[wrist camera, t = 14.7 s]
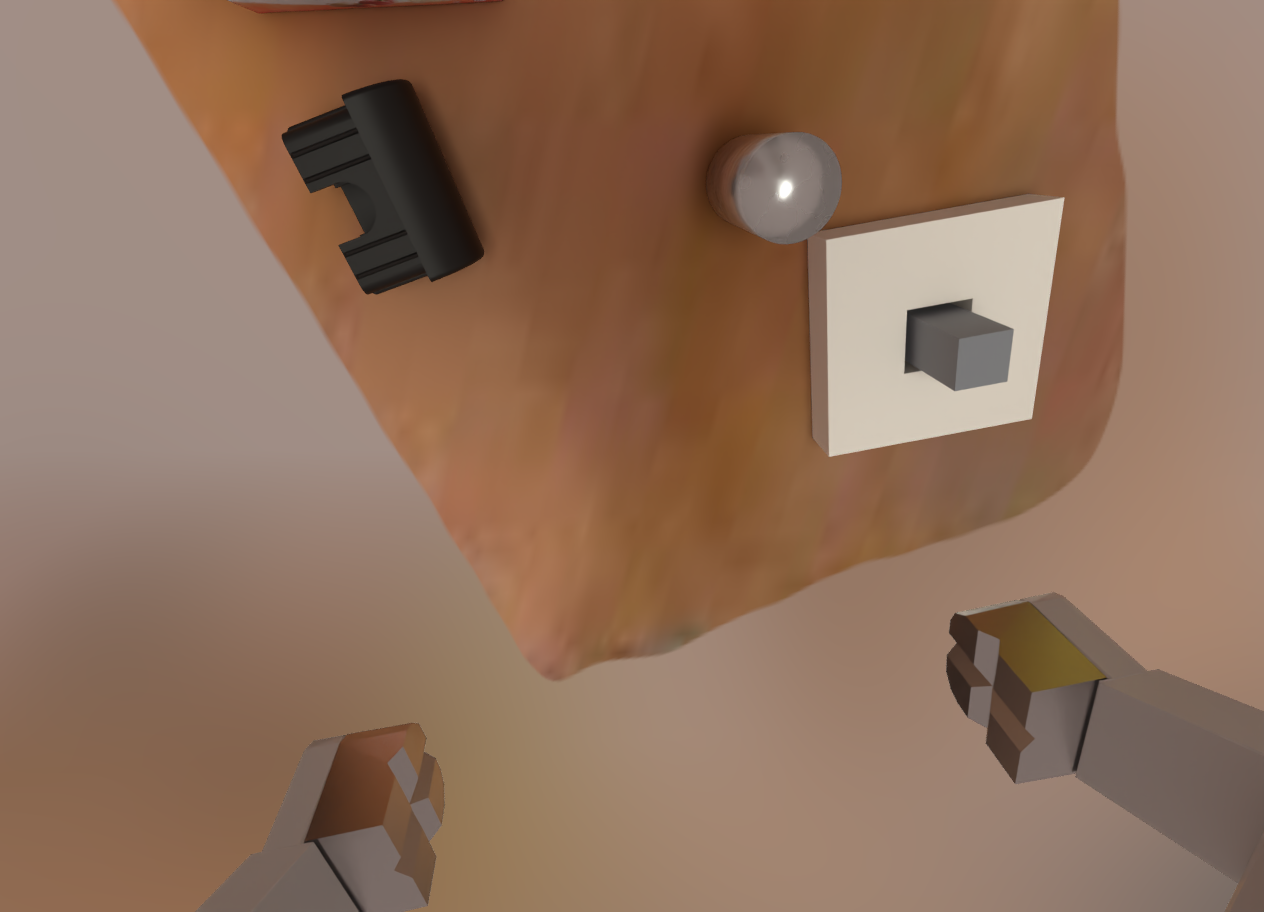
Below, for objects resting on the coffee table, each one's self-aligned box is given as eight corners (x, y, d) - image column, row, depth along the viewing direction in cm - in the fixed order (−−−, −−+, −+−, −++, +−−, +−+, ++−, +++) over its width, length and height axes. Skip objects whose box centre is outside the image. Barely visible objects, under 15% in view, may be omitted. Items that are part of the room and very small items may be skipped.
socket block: (807, 233, 44) (826, 240, 41) (1028, 193, 45) (1064, 197, 41) (812, 437, 51) (828, 456, 48) (1003, 402, 52) (1031, 418, 49)
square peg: (890, 305, 47) (959, 339, 39) (936, 297, 47) (1013, 329, 39) (889, 350, 49) (954, 391, 41) (933, 342, 49) (1007, 381, 41)
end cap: (491, 247, 43) (480, 264, 36) (394, 283, 43) (367, 306, 37) (421, 83, 38) (395, 72, 32) (313, 126, 38) (268, 123, 32)
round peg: (701, 142, 41) (736, 141, 33) (786, 127, 41) (841, 123, 33) (710, 232, 43) (744, 252, 35) (789, 218, 44) (841, 234, 36)
